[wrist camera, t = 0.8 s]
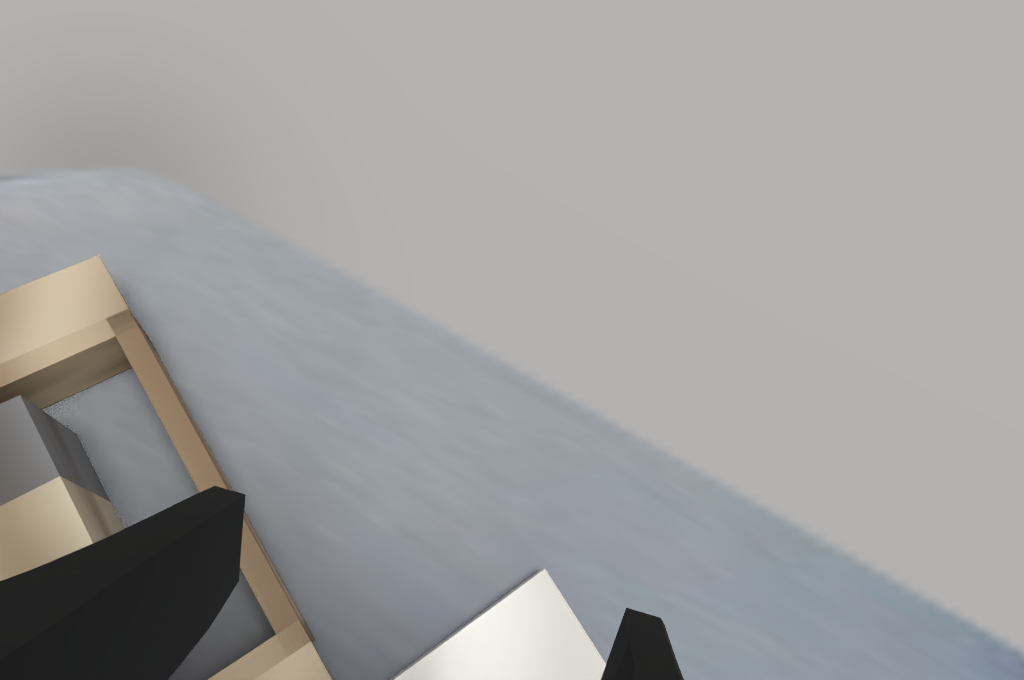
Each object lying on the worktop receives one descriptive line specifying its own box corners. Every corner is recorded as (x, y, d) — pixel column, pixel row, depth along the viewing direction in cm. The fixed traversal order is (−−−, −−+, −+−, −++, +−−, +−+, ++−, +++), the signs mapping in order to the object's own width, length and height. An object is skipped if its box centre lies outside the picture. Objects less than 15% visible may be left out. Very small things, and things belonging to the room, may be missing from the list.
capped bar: (49, 732, 23) (-24, 759, 18) (-56, 498, 25) (-147, 470, 20) (184, 647, 25) (147, 652, 20) (76, 434, 26) (20, 395, 22)
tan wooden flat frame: (-20, 970, 20) (-77, 1023, 18) (-232, 438, 24) (-306, 415, 21) (349, 702, 25) (349, 711, 22) (122, 290, 29) (99, 255, 26)
